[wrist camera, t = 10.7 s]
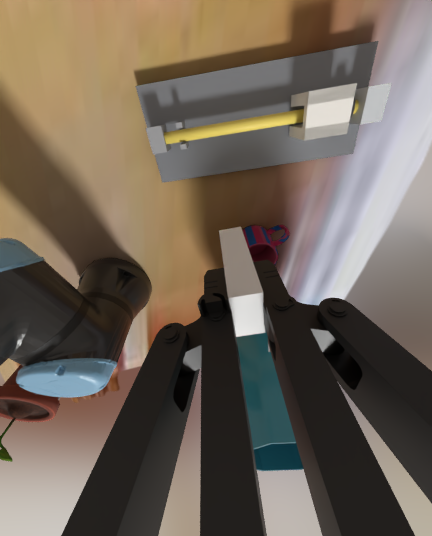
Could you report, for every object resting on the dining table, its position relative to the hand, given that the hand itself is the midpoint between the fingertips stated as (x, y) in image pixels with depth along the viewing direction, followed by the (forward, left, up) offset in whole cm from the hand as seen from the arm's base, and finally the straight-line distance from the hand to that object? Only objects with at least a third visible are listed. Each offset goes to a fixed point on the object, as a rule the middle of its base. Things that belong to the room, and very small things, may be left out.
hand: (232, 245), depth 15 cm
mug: (+6, -13, -25) cm, 29 cm away
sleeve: (+13, +6, -23) cm, 27 cm away
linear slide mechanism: (+5, +6, -25) cm, 26 cm away
